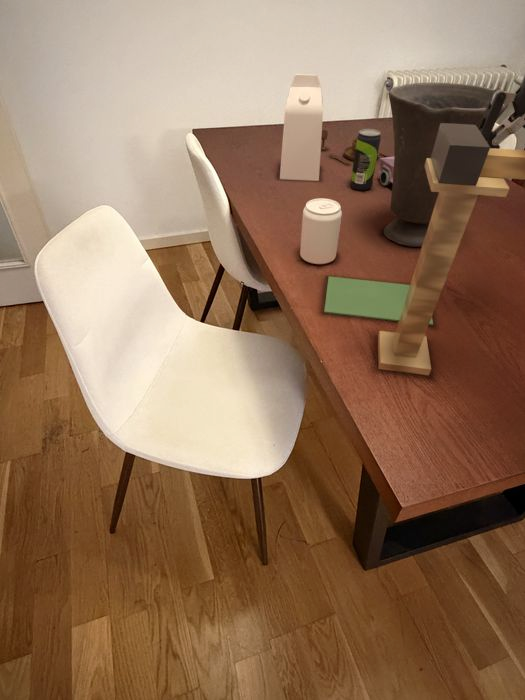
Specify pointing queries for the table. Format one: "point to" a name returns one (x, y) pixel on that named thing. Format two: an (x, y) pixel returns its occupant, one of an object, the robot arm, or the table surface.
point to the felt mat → (366, 298)
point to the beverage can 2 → (365, 159)
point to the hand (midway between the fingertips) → (515, 171)
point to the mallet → (472, 157)
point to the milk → (302, 129)
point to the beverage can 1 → (320, 230)
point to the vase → (424, 147)
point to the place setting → (348, 151)
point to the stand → (432, 271)
